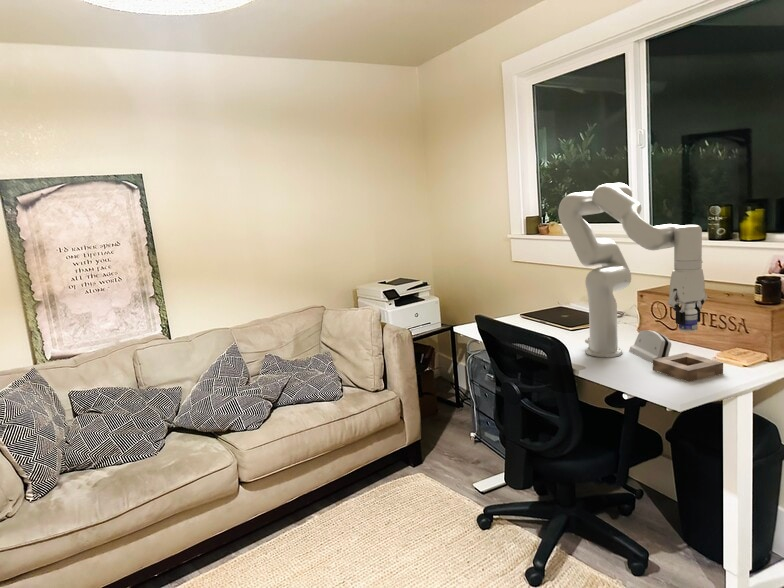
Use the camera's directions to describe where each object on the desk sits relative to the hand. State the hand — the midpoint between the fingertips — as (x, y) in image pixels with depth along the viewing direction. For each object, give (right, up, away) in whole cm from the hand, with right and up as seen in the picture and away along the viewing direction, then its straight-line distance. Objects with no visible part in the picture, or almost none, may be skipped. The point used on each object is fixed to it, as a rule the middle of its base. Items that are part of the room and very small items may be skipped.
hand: (687, 322), depth 176 cm
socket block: (+1, -16, +3) cm, 16 cm away
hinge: (-2, -13, +22) cm, 26 cm away
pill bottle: (0, -3, 0) cm, 3 cm away
